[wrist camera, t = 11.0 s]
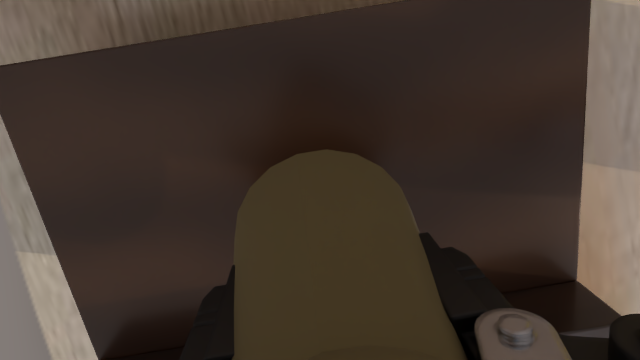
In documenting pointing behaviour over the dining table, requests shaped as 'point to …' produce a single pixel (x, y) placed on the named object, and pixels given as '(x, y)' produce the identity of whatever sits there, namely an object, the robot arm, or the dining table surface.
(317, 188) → the cork
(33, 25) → the dining table surface
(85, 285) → the shelf
